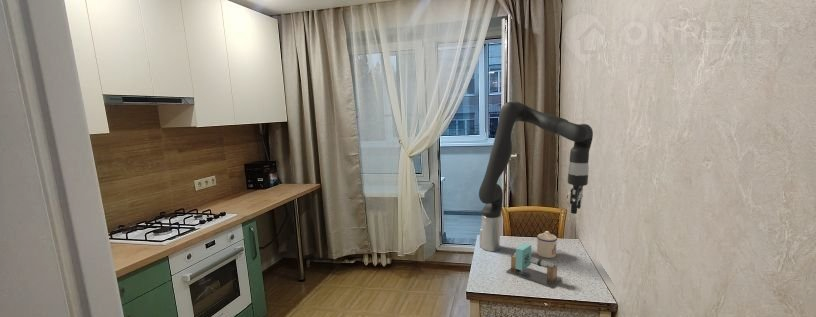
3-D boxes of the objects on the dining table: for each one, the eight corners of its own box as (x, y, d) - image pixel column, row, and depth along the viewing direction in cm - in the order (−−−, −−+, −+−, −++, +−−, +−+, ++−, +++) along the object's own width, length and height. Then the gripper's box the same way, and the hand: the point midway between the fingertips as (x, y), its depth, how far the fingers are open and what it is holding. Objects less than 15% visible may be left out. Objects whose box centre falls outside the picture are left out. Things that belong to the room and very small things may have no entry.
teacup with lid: (556, 259, 169) (557, 235, 168) (535, 256, 173) (536, 233, 171) (556, 250, 180) (557, 227, 178) (537, 247, 184) (538, 225, 182)
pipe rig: (506, 272, 157) (506, 254, 156) (516, 265, 163) (516, 248, 162) (551, 288, 143) (552, 267, 142) (561, 280, 149) (561, 260, 148)
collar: (515, 268, 154) (516, 248, 153) (524, 262, 160) (524, 243, 158) (522, 270, 152) (522, 250, 151) (530, 264, 158) (531, 244, 156)
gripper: (571, 169, 156) (569, 205, 159) (564, 174, 145) (562, 213, 147) (590, 170, 152) (588, 208, 155) (585, 176, 141) (582, 216, 143)
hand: (575, 210), depth 151 cm, fingers open, 8 cm apart
